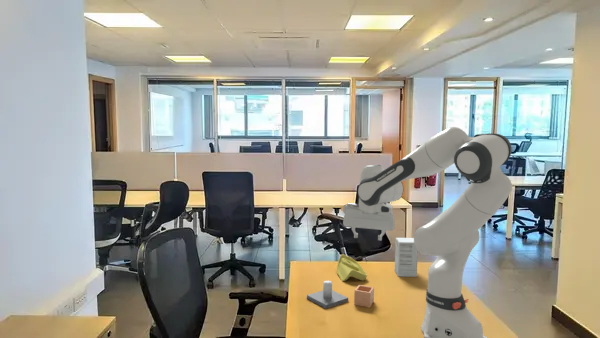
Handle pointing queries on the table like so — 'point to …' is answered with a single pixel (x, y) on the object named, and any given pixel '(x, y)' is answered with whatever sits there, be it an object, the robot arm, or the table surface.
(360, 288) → the sleeve
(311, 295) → the base
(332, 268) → the table surface
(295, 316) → the table surface
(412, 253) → the supplement box
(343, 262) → the plastic component
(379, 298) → the table surface
